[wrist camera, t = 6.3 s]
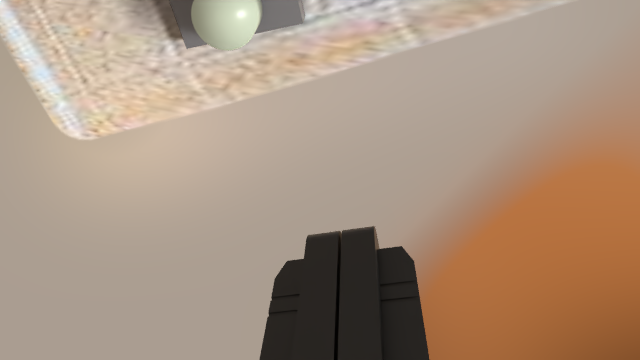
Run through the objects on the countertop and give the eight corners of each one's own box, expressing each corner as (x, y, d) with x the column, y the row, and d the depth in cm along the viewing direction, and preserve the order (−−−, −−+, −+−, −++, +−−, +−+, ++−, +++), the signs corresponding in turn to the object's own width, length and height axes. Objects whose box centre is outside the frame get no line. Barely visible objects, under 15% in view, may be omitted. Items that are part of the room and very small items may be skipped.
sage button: (219, -38, 30) (210, -31, 28) (274, 0, 31) (269, 9, 29) (190, 16, 31) (179, 26, 29) (243, 50, 32) (236, 62, 30)
